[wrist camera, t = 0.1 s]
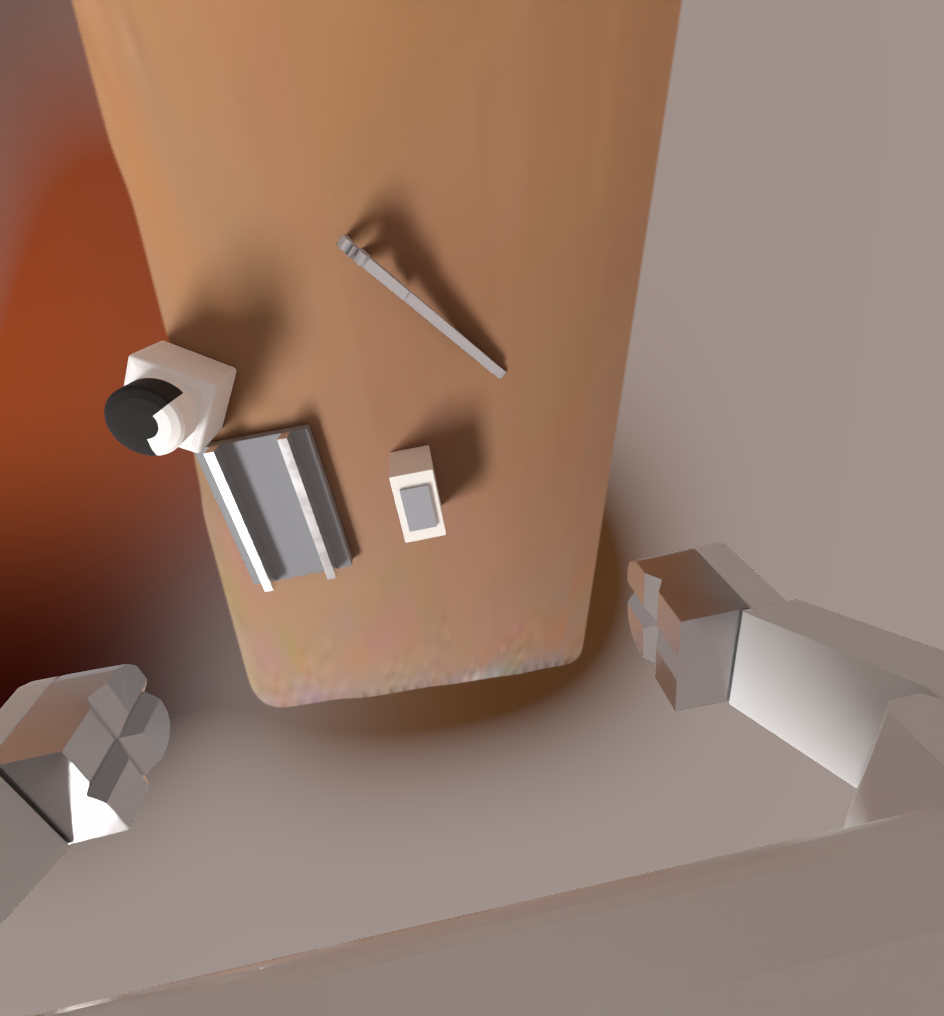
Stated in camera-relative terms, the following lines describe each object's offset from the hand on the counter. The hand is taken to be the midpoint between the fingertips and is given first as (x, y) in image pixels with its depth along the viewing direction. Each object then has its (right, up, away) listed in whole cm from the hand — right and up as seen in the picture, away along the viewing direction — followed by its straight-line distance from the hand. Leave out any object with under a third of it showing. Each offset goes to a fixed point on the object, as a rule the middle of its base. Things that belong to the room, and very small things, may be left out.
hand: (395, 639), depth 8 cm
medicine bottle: (-27, +15, +43) cm, 53 cm away
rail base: (-21, +2, +50) cm, 55 cm away
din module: (-5, +6, +51) cm, 52 cm away
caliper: (-3, +22, +43) cm, 49 cm away
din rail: (-21, +2, +49) cm, 53 cm away
